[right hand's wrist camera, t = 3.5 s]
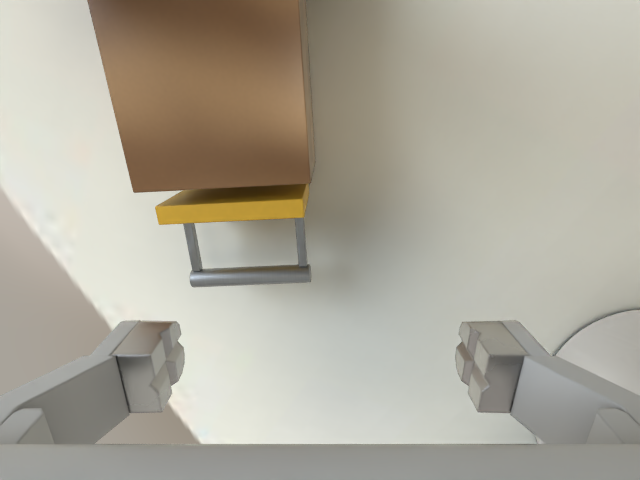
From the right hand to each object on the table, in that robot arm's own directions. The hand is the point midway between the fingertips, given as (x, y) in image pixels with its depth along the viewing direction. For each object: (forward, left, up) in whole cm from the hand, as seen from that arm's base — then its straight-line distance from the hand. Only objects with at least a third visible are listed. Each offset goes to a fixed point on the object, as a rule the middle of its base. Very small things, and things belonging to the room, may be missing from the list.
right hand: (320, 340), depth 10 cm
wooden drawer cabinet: (+12, +4, -20) cm, 23 cm away
